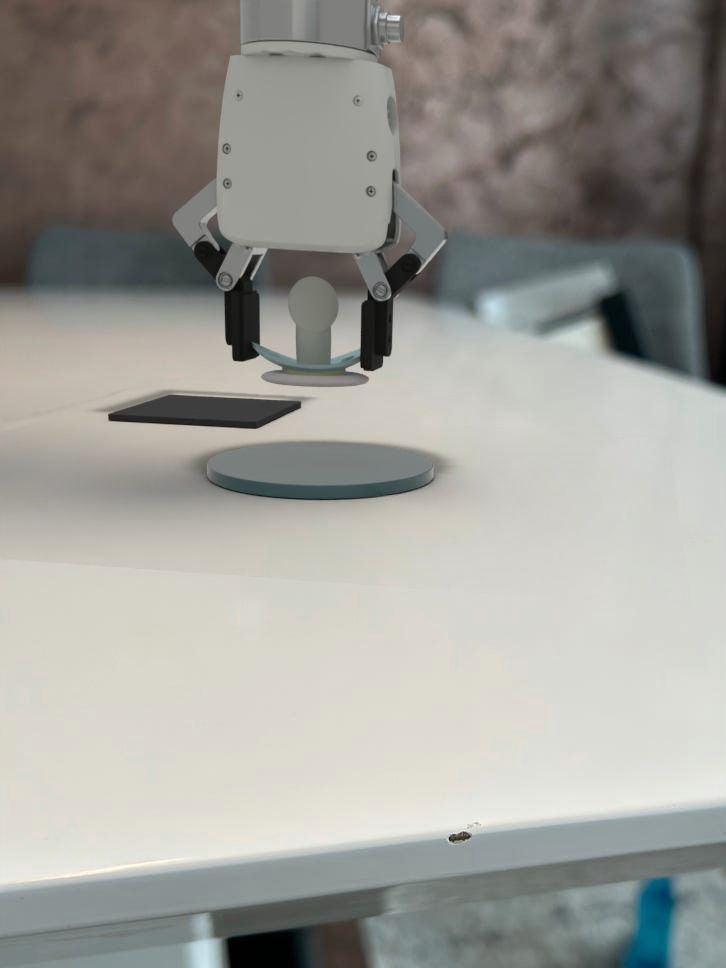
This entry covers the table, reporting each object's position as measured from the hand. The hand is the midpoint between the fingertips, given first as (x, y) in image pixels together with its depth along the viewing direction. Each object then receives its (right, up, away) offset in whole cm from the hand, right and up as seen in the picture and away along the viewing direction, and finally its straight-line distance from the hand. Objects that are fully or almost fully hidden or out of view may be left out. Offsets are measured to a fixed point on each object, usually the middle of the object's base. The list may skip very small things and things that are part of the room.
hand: (308, 361), depth 67 cm
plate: (0, -6, +2) cm, 7 cm away
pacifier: (0, -2, 0) cm, 2 cm away
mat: (-12, +2, +24) cm, 27 cm away
